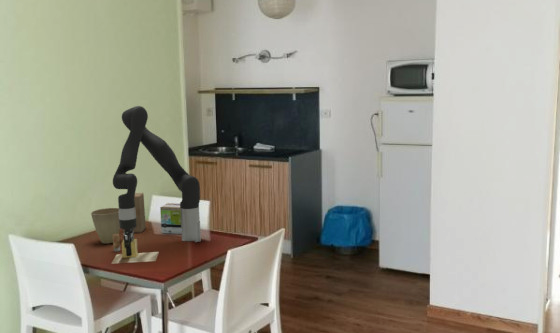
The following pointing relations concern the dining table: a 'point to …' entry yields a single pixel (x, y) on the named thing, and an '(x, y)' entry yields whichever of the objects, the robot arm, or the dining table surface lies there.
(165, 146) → the robot arm
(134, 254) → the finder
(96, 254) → the dining table surface
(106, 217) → the plant pot
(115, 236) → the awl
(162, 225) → the tea box
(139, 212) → the wooden block
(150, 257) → the panel
